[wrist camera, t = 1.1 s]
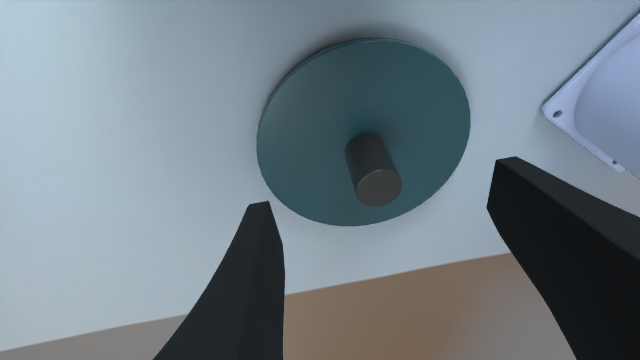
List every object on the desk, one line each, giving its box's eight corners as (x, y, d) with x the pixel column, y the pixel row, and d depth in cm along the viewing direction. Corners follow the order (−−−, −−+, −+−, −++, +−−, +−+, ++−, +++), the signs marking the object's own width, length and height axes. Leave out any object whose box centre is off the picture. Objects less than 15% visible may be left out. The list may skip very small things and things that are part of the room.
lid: (505, 105, 21) (554, 148, 17) (377, 236, 27) (393, 289, 23) (334, -20, 16) (352, 4, 12) (222, 174, 22) (212, 228, 18)
